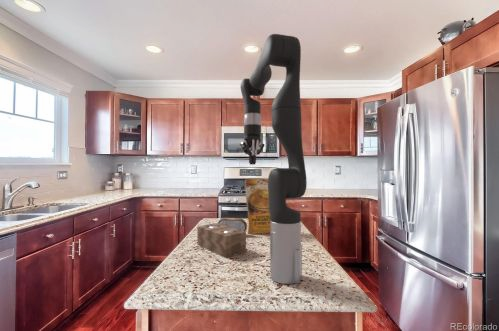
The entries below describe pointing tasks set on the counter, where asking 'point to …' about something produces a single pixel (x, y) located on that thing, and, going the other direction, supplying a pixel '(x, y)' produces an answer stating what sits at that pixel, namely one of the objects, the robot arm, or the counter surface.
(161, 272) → the counter surface
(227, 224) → the tin
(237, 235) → the collar block
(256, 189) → the pancake mix bag
